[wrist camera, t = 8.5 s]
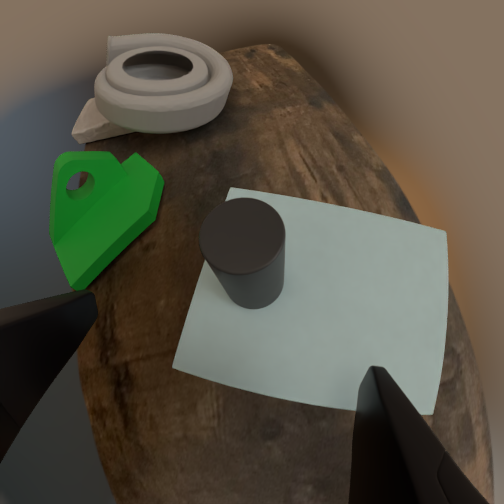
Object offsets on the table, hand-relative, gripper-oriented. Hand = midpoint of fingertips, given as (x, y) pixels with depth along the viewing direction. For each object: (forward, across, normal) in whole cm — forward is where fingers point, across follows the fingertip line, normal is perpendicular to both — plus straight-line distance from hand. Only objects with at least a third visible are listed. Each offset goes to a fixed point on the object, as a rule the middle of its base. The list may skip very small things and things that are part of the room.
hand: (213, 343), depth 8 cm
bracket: (+13, +15, +2) cm, 20 cm away
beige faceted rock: (+24, +23, -7) cm, 34 cm away
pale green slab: (+5, -3, +1) cm, 6 cm away
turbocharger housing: (+26, +10, -13) cm, 31 cm away
